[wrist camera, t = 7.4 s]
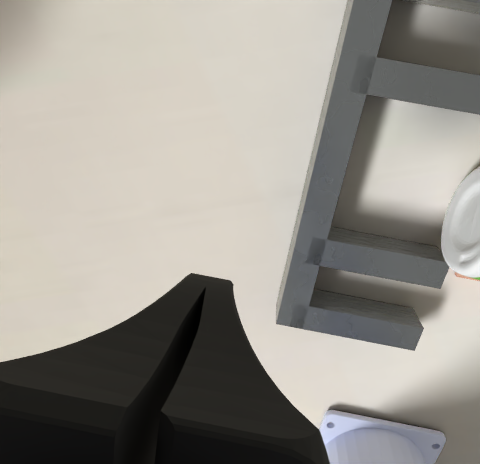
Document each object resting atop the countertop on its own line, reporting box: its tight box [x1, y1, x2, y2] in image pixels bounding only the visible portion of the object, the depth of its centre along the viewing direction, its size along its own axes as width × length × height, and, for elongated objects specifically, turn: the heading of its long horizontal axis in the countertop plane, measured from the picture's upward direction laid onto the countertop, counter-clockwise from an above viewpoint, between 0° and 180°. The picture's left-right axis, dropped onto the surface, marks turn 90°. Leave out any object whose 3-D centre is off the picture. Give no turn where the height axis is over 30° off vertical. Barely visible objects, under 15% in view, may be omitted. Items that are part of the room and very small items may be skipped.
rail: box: [276, 0, 480, 351], centre depth 20 cm, size 18×8×2 cm, turn 171°
